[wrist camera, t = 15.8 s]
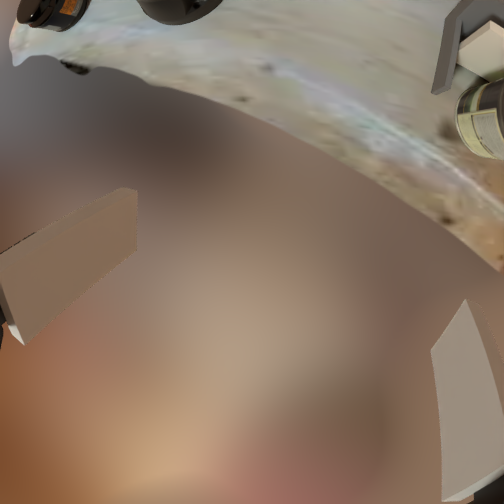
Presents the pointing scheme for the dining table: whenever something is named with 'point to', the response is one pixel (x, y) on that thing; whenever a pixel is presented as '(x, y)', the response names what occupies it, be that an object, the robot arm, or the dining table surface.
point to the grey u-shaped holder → (462, 35)
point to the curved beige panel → (484, 52)
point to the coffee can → (482, 119)
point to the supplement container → (50, 13)
